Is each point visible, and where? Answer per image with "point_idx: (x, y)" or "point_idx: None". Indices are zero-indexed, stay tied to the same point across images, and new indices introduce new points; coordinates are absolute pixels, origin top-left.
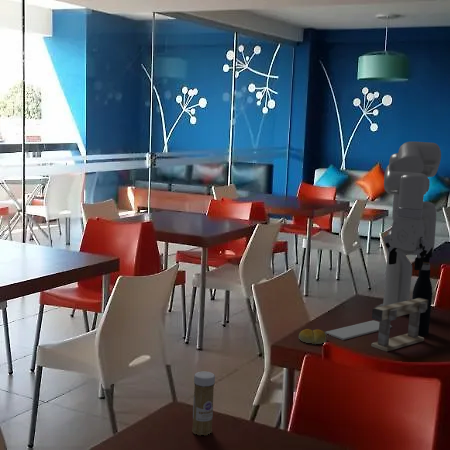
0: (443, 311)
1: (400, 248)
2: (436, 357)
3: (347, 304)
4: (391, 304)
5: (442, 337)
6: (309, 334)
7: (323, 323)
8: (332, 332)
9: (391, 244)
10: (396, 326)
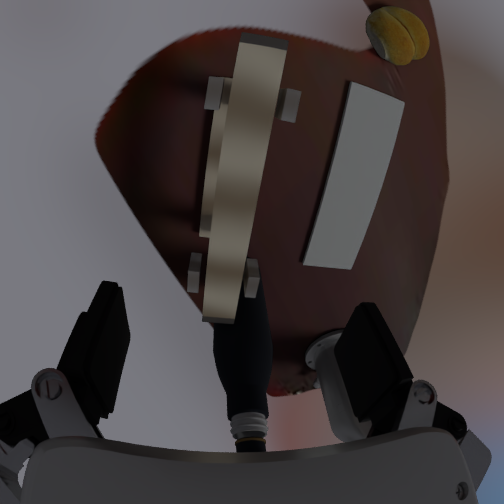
0: (267, 389)
1: (299, 454)
2: (114, 145)
3: (413, 315)
4: (260, 161)
5: (186, 284)
6: (403, 14)
7: (428, 175)
8: (391, 109)
9: (440, 445)
10: (297, 277)
